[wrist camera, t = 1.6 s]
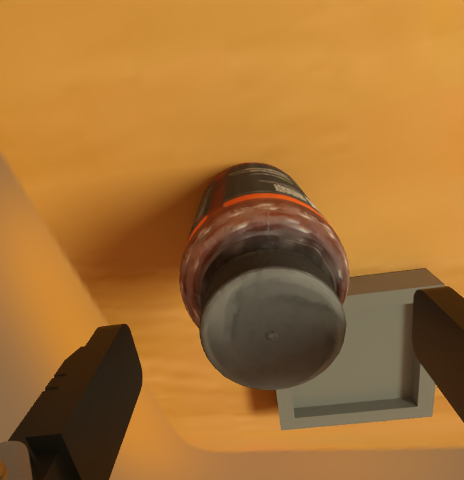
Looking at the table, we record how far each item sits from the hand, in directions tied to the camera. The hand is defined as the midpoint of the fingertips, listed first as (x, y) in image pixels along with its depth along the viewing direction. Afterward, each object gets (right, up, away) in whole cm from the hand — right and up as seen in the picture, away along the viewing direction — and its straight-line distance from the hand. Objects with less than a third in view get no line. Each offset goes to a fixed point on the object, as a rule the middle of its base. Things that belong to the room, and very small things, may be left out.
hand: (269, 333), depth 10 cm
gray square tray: (+7, -4, +13) cm, 15 cm away
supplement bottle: (0, +4, +10) cm, 11 cm away
